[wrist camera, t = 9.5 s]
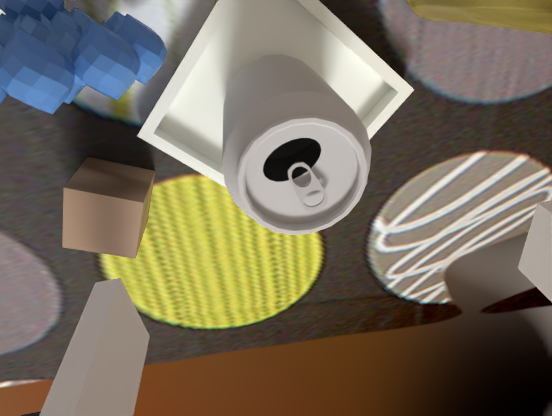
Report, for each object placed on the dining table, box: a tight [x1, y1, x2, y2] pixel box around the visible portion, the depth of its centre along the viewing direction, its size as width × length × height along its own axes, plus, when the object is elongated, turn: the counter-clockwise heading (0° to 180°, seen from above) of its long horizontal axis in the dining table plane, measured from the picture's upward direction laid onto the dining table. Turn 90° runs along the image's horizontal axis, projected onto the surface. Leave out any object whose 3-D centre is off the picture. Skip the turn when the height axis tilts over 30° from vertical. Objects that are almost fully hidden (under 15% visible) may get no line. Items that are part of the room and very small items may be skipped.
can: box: [222, 54, 371, 235], centre depth 22 cm, size 8×8×12 cm
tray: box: [137, 0, 414, 188], centre depth 27 cm, size 14×14×2 cm
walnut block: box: [63, 157, 155, 258], centre depth 28 cm, size 5×5×5 cm
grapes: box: [0, 0, 167, 114], centre depth 18 cm, size 12×7×12 cm, turn 93°
